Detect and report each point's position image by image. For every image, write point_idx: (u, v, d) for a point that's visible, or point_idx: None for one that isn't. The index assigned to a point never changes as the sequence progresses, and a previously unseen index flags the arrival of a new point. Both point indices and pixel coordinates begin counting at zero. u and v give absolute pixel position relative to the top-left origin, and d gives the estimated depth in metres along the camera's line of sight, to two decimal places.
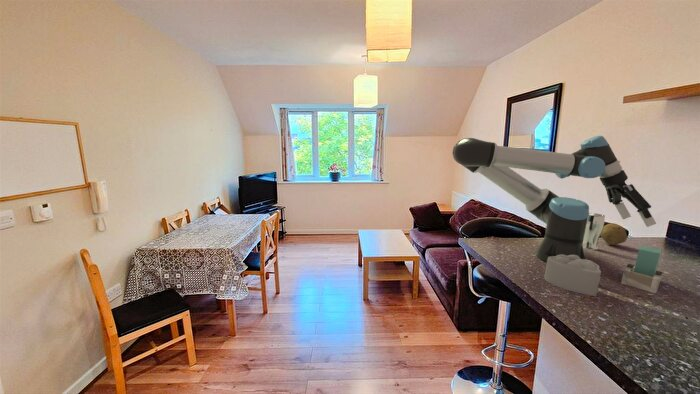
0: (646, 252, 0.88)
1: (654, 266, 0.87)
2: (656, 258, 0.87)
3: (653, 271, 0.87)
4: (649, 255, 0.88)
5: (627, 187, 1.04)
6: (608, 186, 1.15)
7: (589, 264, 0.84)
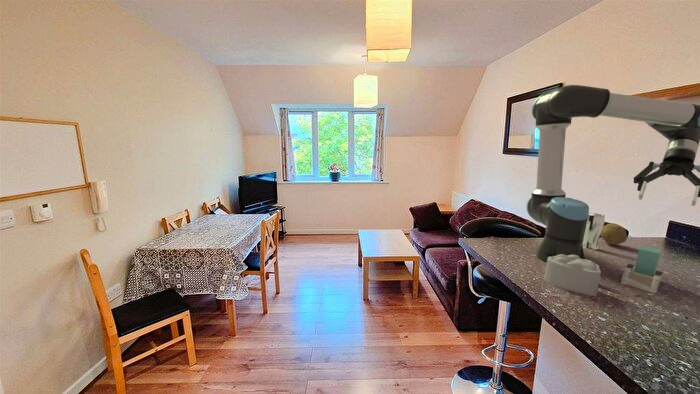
0: (646, 252, 0.88)
1: (654, 266, 0.87)
2: (656, 258, 0.87)
3: (653, 271, 0.87)
4: (649, 255, 0.88)
5: None
6: None
7: (589, 264, 0.84)
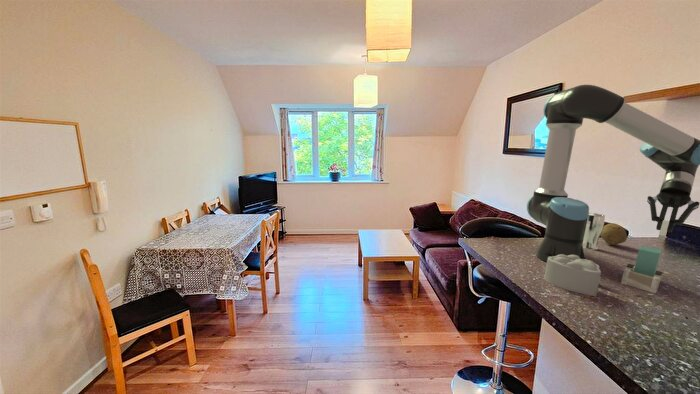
0: (646, 252, 0.88)
1: (654, 266, 0.87)
2: (656, 258, 0.87)
3: (653, 271, 0.87)
4: (649, 255, 0.88)
5: (698, 204, 0.98)
6: None
7: (589, 264, 0.84)
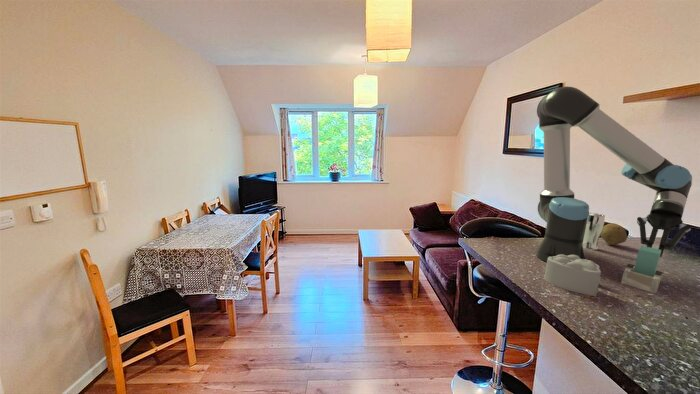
0: (646, 252, 0.88)
1: (654, 266, 0.87)
2: (656, 258, 0.87)
3: (653, 271, 0.87)
4: (649, 255, 0.88)
5: (690, 228, 0.92)
6: None
7: (589, 264, 0.84)
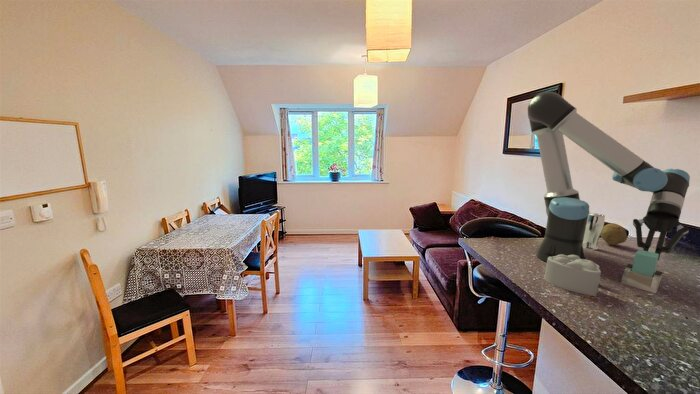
0: (643, 256, 0.84)
1: (651, 271, 0.83)
2: (653, 263, 0.83)
3: None
4: (646, 260, 0.84)
5: (688, 230, 0.89)
6: None
7: (589, 264, 0.84)
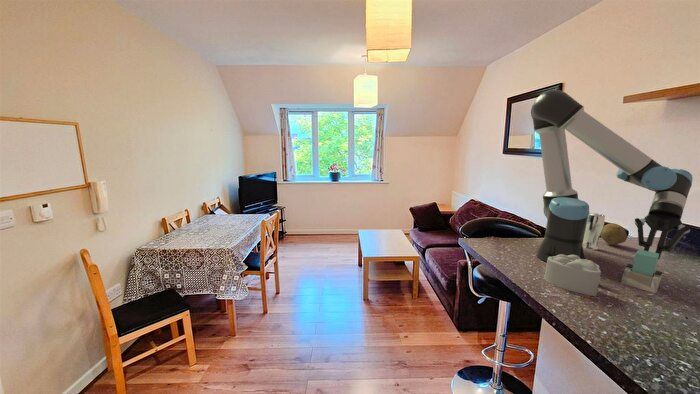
0: (643, 256, 0.85)
1: (651, 271, 0.84)
2: (653, 263, 0.83)
3: None
4: (646, 259, 0.84)
5: (689, 229, 0.90)
6: None
7: (589, 264, 0.84)
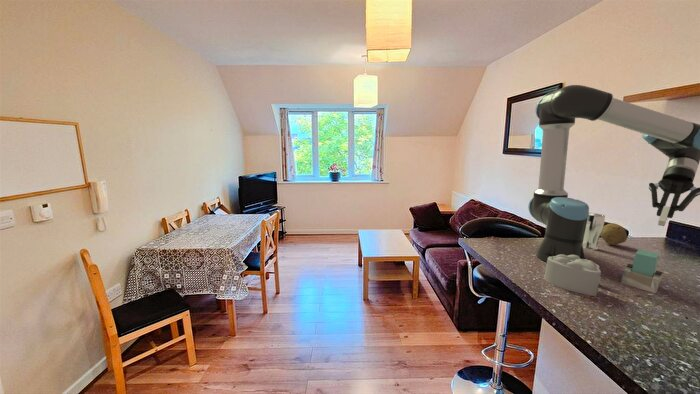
0: (643, 256, 0.85)
1: (651, 271, 0.84)
2: (653, 263, 0.83)
3: None
4: (646, 259, 0.84)
5: None
6: None
7: (589, 264, 0.84)
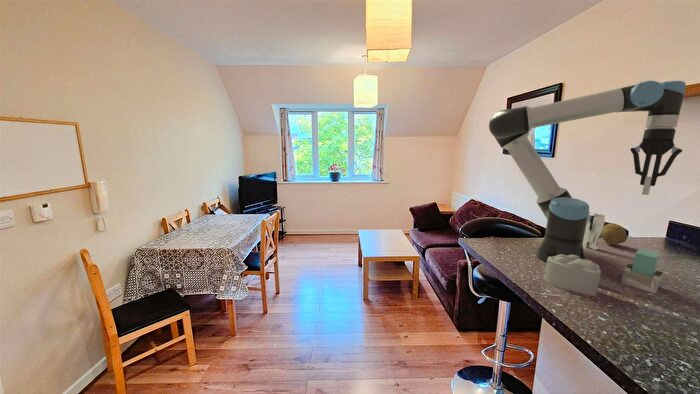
0: (643, 256, 0.85)
1: (651, 271, 0.84)
2: (653, 263, 0.83)
3: None
4: (646, 259, 0.84)
5: None
6: (636, 150, 1.04)
7: (589, 264, 0.84)
